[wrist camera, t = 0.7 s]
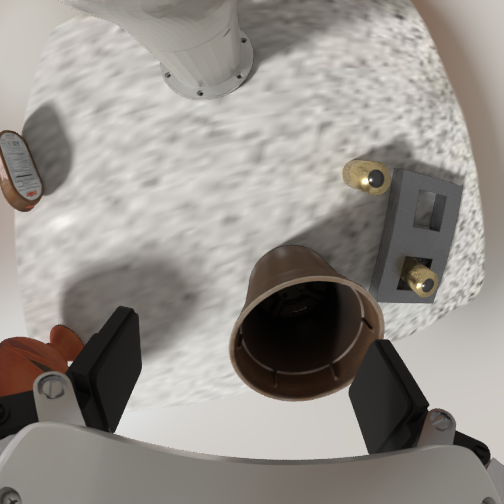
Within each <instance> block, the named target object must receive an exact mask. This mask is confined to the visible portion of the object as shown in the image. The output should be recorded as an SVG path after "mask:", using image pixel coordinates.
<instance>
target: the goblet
mask: <svg viewBox="0 0 504 504" xmlns="http://www.w3.org/2000/svg"><path fill="white" fill-rule="evenodd" d="M83 348H84V346H83V344H82V342H81V341H80V339H79V337H78V336H77V335H76V334H75V333H74V332H73V331H71V330H70V329H68V328H66V327H63V326H55V327H53V328H52V330H51V333H50V343H47V344H45V343H43V342H41V341H38V340H35V339H31V338H27V337H13V338H8V339H5V340H3V341H2V342H1V343H0V397H2V396H7V395H12V394H16V393H21V392H26V391H30V390H33V384H34V382H35V380H36V379H37V377H38V376H40V375H41V374H43V373H46V372H51V371H56V372H61V373H63V374H65V372H66V371H67V370H68V368H69V366H68V365H67V364H68V362H67V361H74V360H75V359H76V357H77V356H78V354H79V353H80V352H81V350H82V349H83Z"/></svg>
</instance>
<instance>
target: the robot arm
mask: <svg viewBox="0 0 504 504" xmlns="http://www.w3.org/2000/svg"><path fill="white" fill-rule="evenodd" d="M59 1H60V2H62V3H64V4H65V5H67V6H69V7H71V8H73V9H75V10H77V11H80V12H82V13H85V14H88V15H91V16H94V17H97V18H101V19H104V20H107V21H110V22H112V23H114V24H116V25H118V26H119V27H121V28H122V29H124V30H125V31H126V32H128V33H129V34H130V35H131V36H133V37H134V38H135V39H136V40H137V41H138V42H139V43H141V44H142V45H143V46H144V47H145V48H146V49H147V50H148V51H149V52H150V53H151V54H152V55H153V56H155V57H156V58H157V59H158V60H159V61H160V69H161V74H162V76H163V79H164V81H165V82H166V83H167V85H168V86H169V87H170V88H171V89H172V90H174V91H175V92H176V93H178V94H179V95H182V96H184V97H186V98H190V99H194V100H210V99H215V98H219V97H222V96H224V95H226V94H229V93H230V92H232V91H233V90H235V89H236V88H238V87H239V86H240V85H241V84H242V83H243V82H244V80H245V79H246V78H247V76H248V75H249V72H250V70H251V68H252V64H253V47H252V44H251V42H250V40H249V38H248V37H247V35H246V34H245V33H244V32H243V31H242V30H241V29H240V28H239V23H238V13H237V3H236V0H59ZM242 42H246V43H242ZM169 75H171V76H170V77H169V78H168V76H169ZM238 76H241V78H240V79H238ZM200 93H203V95H202V96H200ZM141 369H142V360H141V349H140V335H139V317H138V314H137V313H135V312H134V309H132V308H128V307H123V306H119V307H118V308H117V309H116V311H115V312H114V313H113V314H112V316H111V317H110V318H109V320H108V321H107V322H106V323H105V325H104V326H103V327H102V329H101V330H100V331H99V333H95V334H94V335H93V336H92V337H91V338H90V340H89V341H88V342H87V344H86V345H85V346H84V348H83V349H82V350H81V352H80V353H79V354H78V356H77V357H76V359H75V360H74V361H73V363H72V364H71V365H70V367H69V368H68V370H67V371H66V372H65V374H63V373H61V372H56V371H51V372H46V373H43V374H41V375H40V376H38V377H37V379H36V380H35V382H34V384H33V390H30V391H26V392H21V393H16V394H12V395H7V396H2V397H0V504H504V465H502V464H501V463H500V462H498V461H497V460H496V459H495V458H492V459H490V451H489V449H488V447H487V446H486V445H485V444H484V443H482V442H480V441H478V440H476V439H474V438H471V437H469V436H467V435H465V434H463V433H460V432H458V431H456V422H455V419H454V418H453V416H452V415H451V414H450V413H449V412H447V411H445V410H443V409H437V408H435V409H432V410H430V411H428V409H427V408H428V406H429V403H428V401H427V400H426V398H425V396H424V395H423V393H422V391H421V390H420V388H419V387H418V385H417V383H416V381H415V380H414V378H413V376H412V375H411V373H410V372H409V370H408V368H407V367H406V365H405V364H404V362H403V360H402V359H401V357H400V356H399V354H398V353H397V351H396V350H395V348H394V346H393V345H392V343H391V342H390V341H389V340H387V339H376V340H375V341H374V342H372V343H371V344H370V345H369V347H368V350H367V352H366V354H365V356H364V359H363V361H362V363H361V365H360V367H359V369H358V371H357V373H356V376H355V378H354V380H353V382H352V384H351V386H350V388H349V397H350V400H351V403H352V406H353V409H354V411H355V415H356V417H357V420H358V423H359V426H360V429H361V432H362V435H363V438H364V441H365V444H366V447H367V450H368V453H369V454H370V455H364V456H355V457H345V458H333V459H314V460H267V459H249V458H236V457H225V456H217V455H209V454H203V453H196V452H190V451H184V450H179V449H174V448H169V447H164V446H159V445H155V444H151V443H146V442H142V441H138V440H134V439H130V438H127V437H123V436H120V435H116V434H112V433H114V432H115V431H116V428H117V426H118V424H119V421H120V419H121V416H122V414H123V412H124V409H125V407H126V405H127V402H128V400H129V398H130V395H131V393H132V391H133V389H134V386H135V384H136V382H137V379H138V377H139V375H140V373H141Z"/></svg>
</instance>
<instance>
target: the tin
mask: <svg viewBox="0 0 504 504" xmlns="http://www.w3.org/2000/svg"><path fill="white" fill-rule="evenodd" d="M0 187H1V190H2V193H3V195H4V197H5V199H6V200H7V202H8V203H9V204H10V205H11V206H12V207H13V208H15V209H16V210H18V211H21V212H28V211H30V210H32V209H33V208H34V206H35V205H36V204H37V203H38V202H39V201H40V199H41V197H42V194H43V185H42V182H41V179H40V177H39V174H38V172H37V169H36V167H35V164H34V162H33V159H32V157H31V154H30V151H29V149H28V146H27V144H26V142H25V141H24V139H23V138H22V137H21V136H20V135H19V134H18V133H16V132H14V131H9V130H4V131H2V132H1V133H0Z"/></svg>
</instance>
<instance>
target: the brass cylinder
mask: <svg viewBox="0 0 504 504" xmlns="http://www.w3.org/2000/svg"><path fill="white" fill-rule="evenodd" d="M343 179H344V181H345V183H346V184H347V185H348V186H350V187H352V188H355V189H358V190H360V191H363V192H366V193H368V194H371V195H381V194H383V193H384V192H385V191H386V190H387V189H388V187H389V185H390V180H391V177H390V173H389V170H388V169H387V167H386V166H385V165H383V164H382V163H379V162H373V161H363V160H352V161H349V162H348V163H347V164H346V165H345V166H344V168H343Z"/></svg>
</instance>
